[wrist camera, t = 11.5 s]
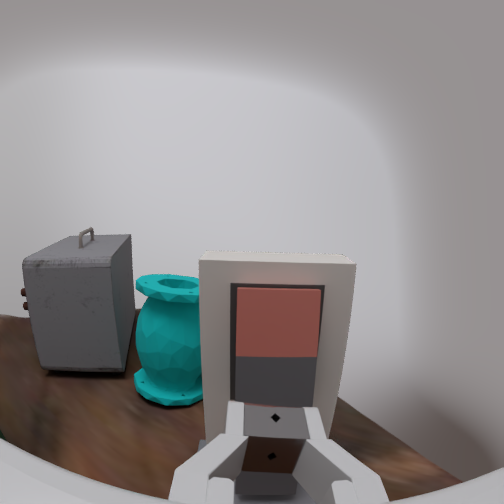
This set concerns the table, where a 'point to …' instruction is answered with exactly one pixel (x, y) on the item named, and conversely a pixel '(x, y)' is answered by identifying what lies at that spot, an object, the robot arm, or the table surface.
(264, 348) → the upper rocker
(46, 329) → the vintage electronic device
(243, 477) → the lower rocker
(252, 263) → the tower
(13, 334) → the table surface
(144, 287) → the valve
